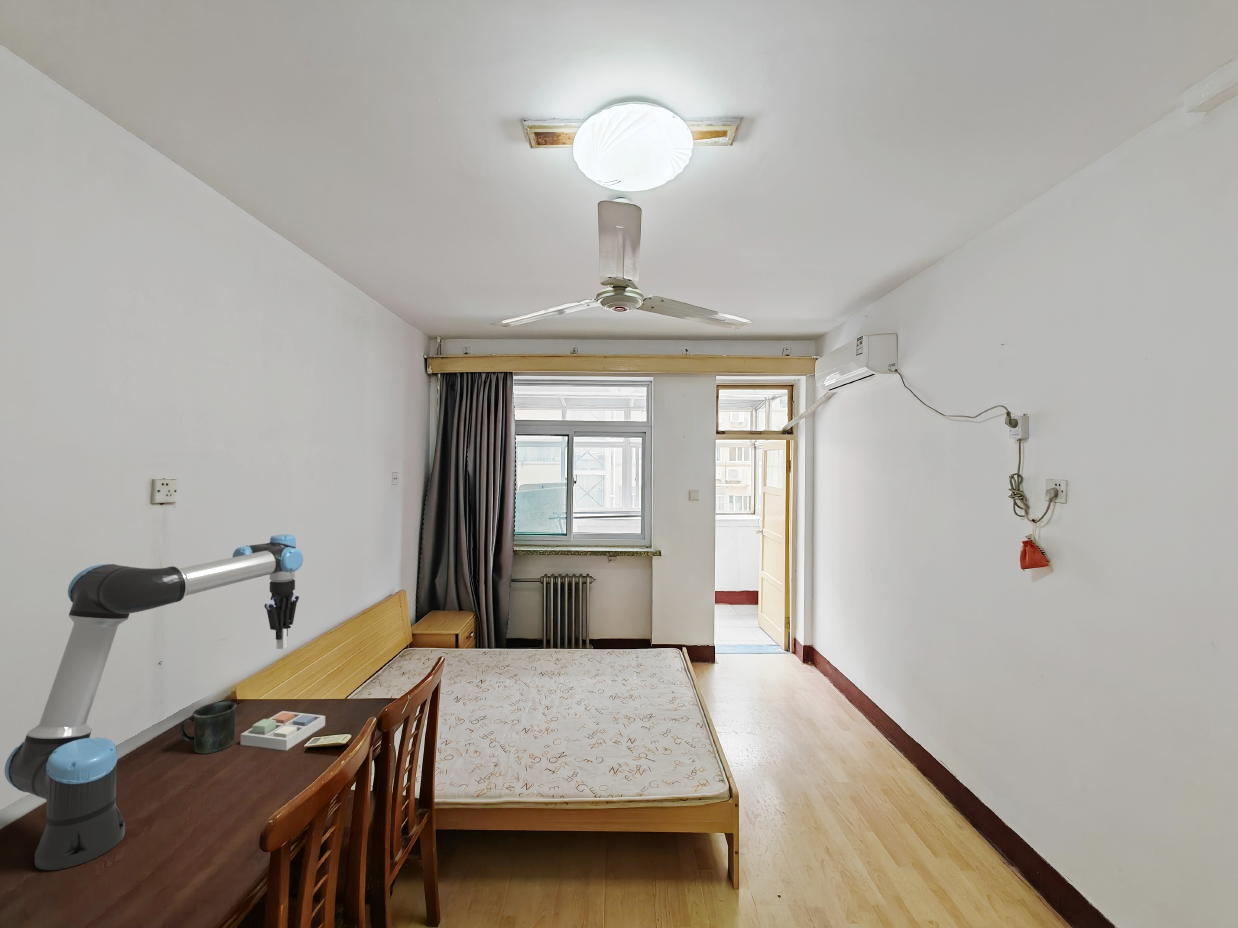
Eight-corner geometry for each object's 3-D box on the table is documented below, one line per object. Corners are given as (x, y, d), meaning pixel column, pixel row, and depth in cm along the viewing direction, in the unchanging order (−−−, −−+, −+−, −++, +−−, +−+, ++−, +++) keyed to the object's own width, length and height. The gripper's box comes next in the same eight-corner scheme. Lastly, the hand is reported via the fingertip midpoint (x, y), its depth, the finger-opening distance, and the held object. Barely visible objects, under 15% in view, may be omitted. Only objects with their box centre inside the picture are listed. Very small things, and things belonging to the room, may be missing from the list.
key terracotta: (283, 729, 185) (284, 719, 185) (272, 727, 186) (272, 718, 186) (294, 722, 190) (294, 713, 190) (282, 721, 191) (283, 712, 191)
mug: (232, 750, 173) (232, 712, 173) (174, 760, 167) (174, 720, 167) (239, 735, 183) (239, 698, 183) (184, 743, 177) (185, 706, 177)
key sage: (264, 736, 178) (264, 726, 178) (252, 734, 178) (252, 724, 178) (275, 729, 182) (276, 719, 182) (263, 727, 183) (264, 718, 183)
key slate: (304, 731, 184) (304, 722, 184) (292, 730, 185) (292, 720, 185) (314, 725, 188) (314, 716, 188) (303, 723, 189) (303, 714, 189)
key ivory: (285, 743, 176) (286, 733, 176) (273, 741, 177) (273, 732, 177) (296, 736, 181) (297, 727, 181) (284, 735, 181) (284, 725, 181)
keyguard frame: (286, 750, 174) (286, 739, 174) (240, 744, 177) (240, 733, 177) (325, 725, 190) (325, 715, 190) (282, 720, 193) (282, 710, 193)
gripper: (276, 584, 184) (275, 655, 184) (306, 576, 196) (305, 642, 196) (257, 583, 185) (256, 653, 185) (287, 575, 198) (286, 641, 198)
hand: (281, 647), depth 191 cm, fingers closed
